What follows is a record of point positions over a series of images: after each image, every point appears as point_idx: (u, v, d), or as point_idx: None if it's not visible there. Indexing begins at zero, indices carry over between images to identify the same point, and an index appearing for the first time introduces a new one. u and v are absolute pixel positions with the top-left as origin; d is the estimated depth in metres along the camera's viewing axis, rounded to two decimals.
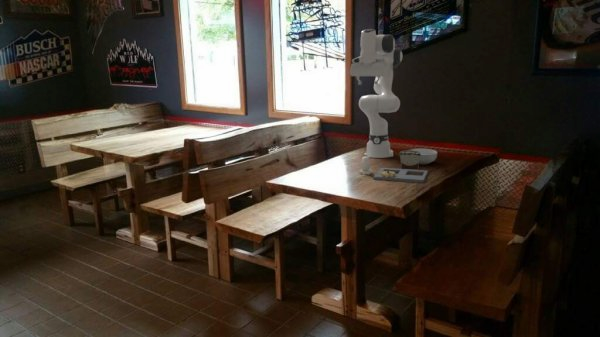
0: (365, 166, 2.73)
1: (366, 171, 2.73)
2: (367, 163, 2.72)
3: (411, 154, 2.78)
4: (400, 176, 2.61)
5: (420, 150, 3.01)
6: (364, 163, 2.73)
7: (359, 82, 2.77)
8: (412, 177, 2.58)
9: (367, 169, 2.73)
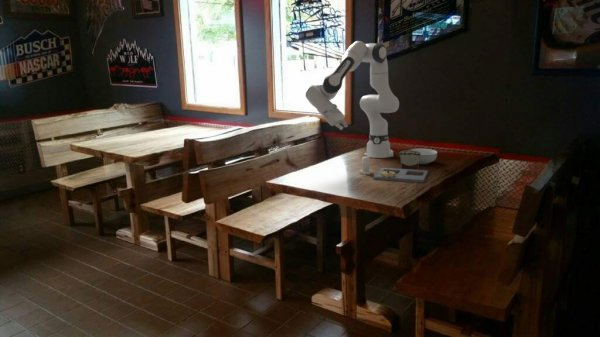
0: (365, 166, 2.73)
1: (366, 171, 2.73)
2: (367, 163, 2.72)
3: (411, 154, 2.78)
4: (400, 176, 2.61)
5: (420, 150, 3.01)
6: (364, 163, 2.73)
7: None
8: (412, 177, 2.58)
9: (367, 169, 2.73)
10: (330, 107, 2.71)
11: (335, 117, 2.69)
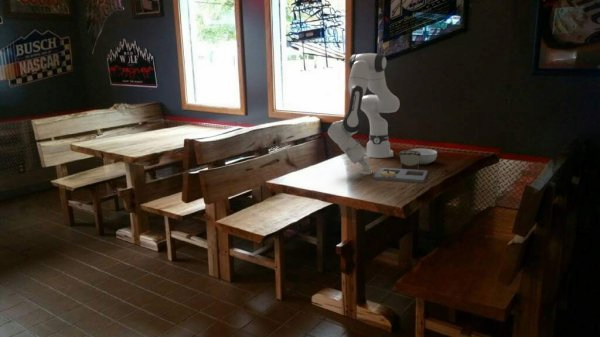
0: (365, 166, 2.73)
1: (366, 171, 2.73)
2: (367, 163, 2.72)
3: (411, 154, 2.78)
4: (400, 176, 2.61)
5: (420, 150, 3.01)
6: None
7: None
8: (412, 177, 2.58)
9: (367, 169, 2.73)
10: (352, 144, 2.71)
11: (357, 154, 2.70)
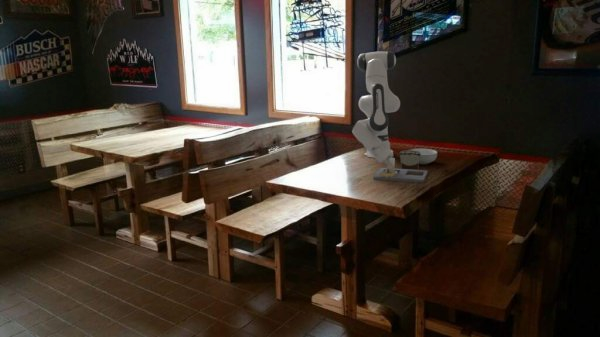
0: (390, 167, 2.68)
1: None
2: (392, 164, 2.68)
3: (411, 154, 2.78)
4: (400, 176, 2.61)
5: (420, 150, 3.01)
6: None
7: None
8: (412, 177, 2.58)
9: (392, 170, 2.69)
10: (378, 143, 2.66)
11: (383, 154, 2.65)
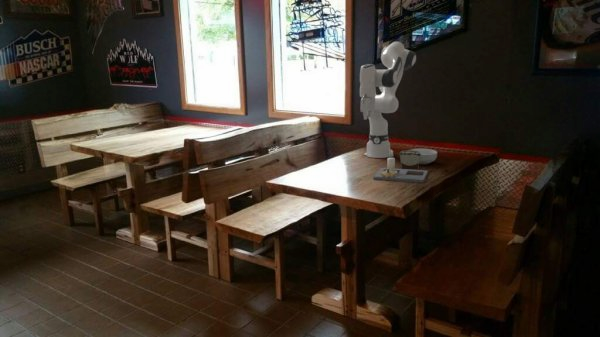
0: (390, 167, 2.68)
1: None
2: (392, 164, 2.68)
3: (411, 154, 2.78)
4: (400, 176, 2.61)
5: (420, 150, 3.01)
6: (389, 164, 2.68)
7: None
8: (412, 177, 2.58)
9: (392, 170, 2.69)
10: (371, 95, 2.73)
11: (368, 106, 2.73)
